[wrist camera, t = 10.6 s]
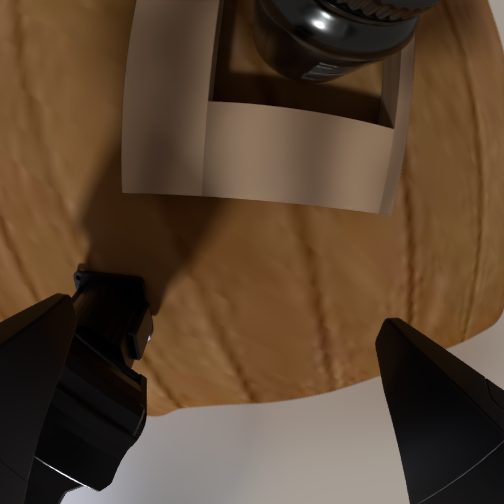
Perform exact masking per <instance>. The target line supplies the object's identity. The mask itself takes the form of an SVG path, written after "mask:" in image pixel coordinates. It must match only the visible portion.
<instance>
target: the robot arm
mask: <svg viewBox="0 0 504 504" xmlns="http://www.w3.org/2000/svg"><path fill="white" fill-rule="evenodd" d="M78 275H79V276H80V277H79V276H78ZM74 281H75V286H76V290H77V291H76V293H75V294H74V295H73V296H72V298H71V297H70V296H69V295H67V294H61V293H57V294H55V295H53V296H51V297H49V298H47V299H45V300H43V301H41V302H39V303H37V304H35V305H33V306H31V307H29V308H27V309H25V310H23V311H21V312H19V313H17V314H15V315H13V316H11V317H9V318H8V319H6V320H4V321H2V322H0V504H60V503H61V501H62V499H63V498H64V496H65V494H66V493H67V492H69V491H72V490H75V489H77V488H80V487H82V486H86V487H88V488H90V489H92V490H94V491H97V492H99V491H101V490H103V489H104V488H106V487H107V486H108V485H110V484H111V483H112V480H113V478H114V475H115V473H116V471H117V468H118V466H119V464H120V462H121V460H122V459H123V457H124V455H125V454H126V452H127V450H128V449H129V448H130V447H131V446H133V445H134V443H135V442H136V441H137V440H138V438H139V436H140V435H141V433H142V431H143V429H144V426H145V423H146V417H147V378H146V377H144V376H143V375H142V374H138V373H137V372H135V371H134V370H133V369H131V368H132V365H133V362H134V360H140V359H141V358H142V355H143V353H144V350H145V347H146V344H147V341H149V340H150V338H151V330H152V328H153V324H152V317H151V309H150V304H149V303H148V302H147V301H146V293H145V284H144V280H143V279H142V278H141V277H137V276H127V275H118V274H108V273H99V272H90V271H82V270H77V271H76V272H75V273H74ZM136 282H138V283H139V284H140V285H138V284H136ZM375 347H376V352H377V357H378V362H379V368H380V373H381V378H382V384H383V388H384V393H385V397H386V401H387V404H388V408H389V412H390V415H391V419H392V423H393V427H394V430H395V435H396V439H397V443H398V447H399V452H400V456H401V461H402V465H403V470H404V475H405V480H406V485H407V491H408V496H409V501H410V504H504V390H503V389H501V388H500V387H498V386H497V385H495V384H494V383H493V382H491V381H490V380H488V379H485V377H484V376H483V375H481V374H480V373H478V372H477V371H476V370H474V369H473V368H471V367H470V366H468V365H467V364H466V363H464V362H463V361H461V360H460V359H458V358H457V357H456V356H454V355H453V354H451V353H450V352H448V351H447V350H445V349H444V348H443V347H441V346H440V345H438V344H437V343H435V342H434V341H432V340H431V339H429V338H428V337H427V336H425V335H424V334H422V333H421V332H419V331H418V330H416V329H415V328H413V327H412V326H410V325H409V324H407V323H406V322H404V321H403V320H401V319H400V318H387V319H385V320H384V322H383V324H382V327H381V329H380V331H379V334H378V336H377V338H376V342H375Z"/></svg>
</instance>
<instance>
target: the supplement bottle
mask: <svg viewBox="0 0 504 504" xmlns="http://www.w3.org/2000/svg"><path fill="white" fill-rule="evenodd" d="M439 1H440V0H254V16H253V38H254V43H255V46H256V49H257V51H258V53H259V55H260V56H261V58H262V59H263V60H264V62H265V63H266V64H267V65H268V66H269V67H270V68H272V69H273V70H274V71H276V72H277V73H278V74H280V75H282V76H284V77H286V78H288V79H291V80H294V81H297V82H302V83H323V82H328V81H331V80H334V79H337V78H339V77H342V76H344V75H346V74H349V73H351V72H353V71H356V70H358V69H360V68H363V67H365V66H368V65H370V64H373V63H375V62H378V61H381V60H383V59H386V58H388V57H390V56H392V55H394V54H396V53H398V52H399V51H401V50H402V49H404V48H405V47H406V46H407V45H408V44H409V42H410V41H411V40H412V39H413V37H414V35H415V33H416V31H417V28H418V24H419V19H420V14H421V13H423V12H425V11H427V10H429V9H431V8H432V7H433V6H435V5H437V4H438V3H439Z"/></svg>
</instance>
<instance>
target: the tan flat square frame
mask: <svg viewBox="0 0 504 504" xmlns="http://www.w3.org/2000/svg"><path fill="white" fill-rule="evenodd" d="M223 7H224V0H137V2H136V6H135V12H134V17H133V23H132V28H131V35H130V41H129V49H128V56H127V65H126V74H125V85H124V98H123V115H122V193H142V194H170V195H190V196H208V197H223V198H237V199H250V200H262V201H274V202H284V203H295V204H304V205H314V206H323V207H331V208H340V209H348V210H356V211H363V212H371V213H378V214H385V215H392V212H393V208H394V203H395V199H396V194H397V190H398V185H399V180H400V175H401V169H402V164H403V158H404V152H405V146H406V140H407V133H408V126H409V118H410V109H411V100H412V89H413V76H414V57H415V35H414V37H413V39H412V40H411V41H410V42H409V44H408V45H407V46H406V47H405V48H404V49H402V50H401V51H399V52H398V53H396V54H394V55H392V56H390V57H388V58H386V59H384V69H383V81H382V92H381V102H380V111H379V119H378V125H376V124H372V123H367V122H363V121H359V120H354V119H349V118H345V117H340V116H335V115H329V114H324V113H318V112H312V111H306V110H299V109H292V108H284V107H276V106H267V105H257V104H245V103H231V102H213V93H214V83H215V73H216V63H217V54H218V46H219V37H220V29H221V21H222V14H223Z"/></svg>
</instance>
